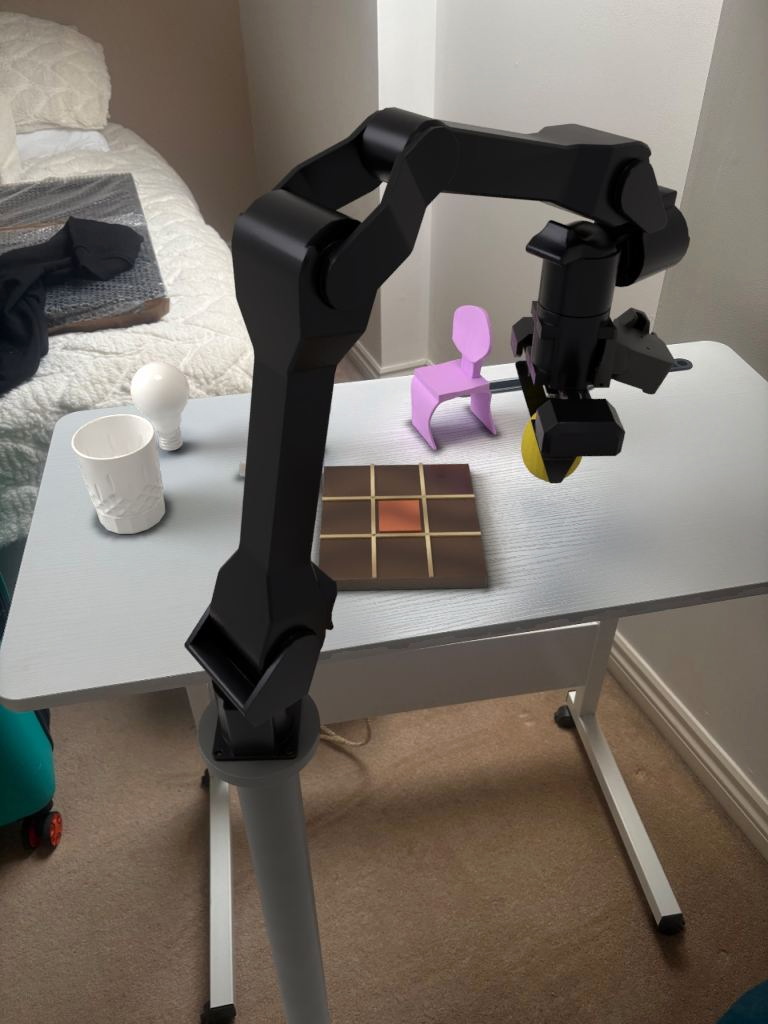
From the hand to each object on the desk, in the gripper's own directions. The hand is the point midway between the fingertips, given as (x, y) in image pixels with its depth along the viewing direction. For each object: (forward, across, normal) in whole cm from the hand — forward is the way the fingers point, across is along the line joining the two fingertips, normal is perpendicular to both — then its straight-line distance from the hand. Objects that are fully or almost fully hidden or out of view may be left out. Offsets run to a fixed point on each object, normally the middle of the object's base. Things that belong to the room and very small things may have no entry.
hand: (549, 463), depth 75 cm
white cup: (+12, +7, +41) cm, 44 cm away
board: (+11, +5, +13) cm, 18 cm away
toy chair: (+11, +23, +6) cm, 26 cm away
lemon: (+2, 0, 0) cm, 2 cm away
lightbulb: (+12, +19, +39) cm, 45 cm away
